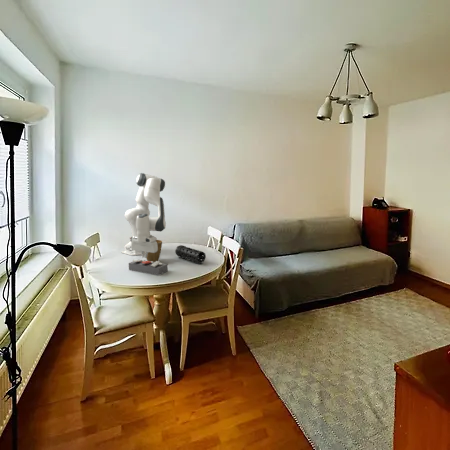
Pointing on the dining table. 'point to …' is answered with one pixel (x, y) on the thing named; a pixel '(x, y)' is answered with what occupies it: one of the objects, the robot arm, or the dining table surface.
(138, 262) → the left rocker
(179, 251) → the muzzle brake
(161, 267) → the switch strip
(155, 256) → the plant pot
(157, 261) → the right rocker
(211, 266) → the dining table surface
